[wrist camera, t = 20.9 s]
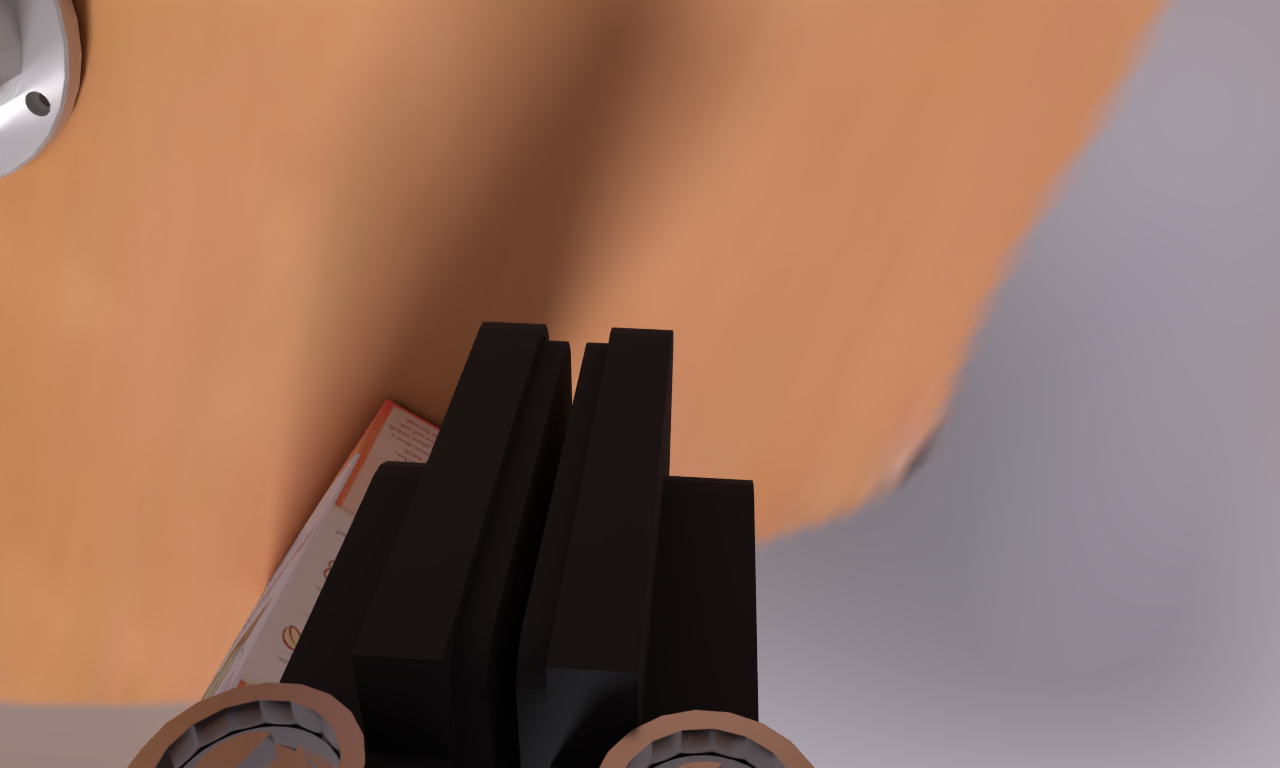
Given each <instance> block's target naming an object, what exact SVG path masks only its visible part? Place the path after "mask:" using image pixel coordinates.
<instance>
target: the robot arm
mask: <svg viewBox="0 0 1280 768" xmlns="http://www.w3.org/2000/svg"><path fill="white" fill-rule="evenodd" d="M81 59H82V52H81V44H80V36H79V28H78V19H77V16H76V13H75V9H74V6H73V3H72V0H0V178H2V177H4V176H7V175H9V174H12V173H14V172H16V171H17V170H19V169H20V168H22V167H23V166H25V165H26V164H28V163H29V162H31V161H32V160H34V159H35V158H37V157H38V156H39V155H40V154H41V153H42V152H43V151H44V150H45V149H46V148H47V147H49V146H50V145H51V144H52V143H53V142H54V141H55V140H56V139H57V137H58V136H59V134H60V132H61V131H62V129H63V127H64V126H65V124H66V122H67V121H68V119H69V117H70V116H71V113H72V110H73V106H74V103H75V100H76V97H77V93H78V90H79V86H80V73H81ZM672 371H673V330H656V329H634V328H612V329H611V333H610V337H609V343H587V344H586V347H585V352H584V356H583V361H582V365H581V369H580V374H579V378H578V383H577V387H576V392H575V396H574V400H573V405H572V380H571V351H570V344H569V342H567V341H549V334H548V329H547V326H546V324H526V323H504V322H483V323H482V325H481V327H480V329H479V332H478V334H477V337H476V339H475V342H474V344H473V347H472V349H471V352H470V354H469V357H468V359H467V362H466V365H465V367H464V370H463V372H462V375H461V377H460V380H459V382H458V385H457V387H456V390H455V392H454V395H453V397H452V400H451V402H450V405H449V408H448V410H447V413H446V415H445V418H444V420H443V423H442V425H441V428H440V430H439V433H438V435H437V438H436V440H435V443H434V445H433V448H432V451H431V453H430V456H429V458H428V461H427V463H419V462H401V461H386V462H384V463H382V464H380V466H379V467H378V469H377V470H376V472H375V474H374V475H373V477H372V480H371V482H370V484H369V486H368V488H367V491H366V493H365V495H364V497H363V499H362V502H361V504H360V506H359V508H358V510H357V513H356V515H355V517H354V519H353V521H352V523H351V526H350V528H349V530H348V532H347V534H346V537H345V539H344V541H343V543H342V545H341V548H340V550H339V552H338V554H337V556H336V559H335V561H334V563H333V565H332V567H331V570H330V572H329V574H328V576H327V578H326V581H325V583H324V585H323V587H322V589H321V592H320V594H319V596H318V598H317V600H316V603H315V605H314V607H313V609H312V611H311V614H310V616H309V618H308V620H307V622H306V624H305V627H304V629H303V631H302V633H301V635H300V638H299V640H298V642H297V644H296V646H295V649H294V651H293V653H292V655H291V657H290V660H289V662H288V664H287V666H286V668H285V671H284V673H283V675H282V677H281V679H280V682H279V683H273V682H266V683H261V684H255V685H249V686H243V687H238V688H232V689H230V690H227V691H225V692H222V693H220V694H217V695H215V696H212V697H210V698H207V699H205V700H202V701H200V702H197V703H196V704H194V705H193V706H191V707H190V708H188V709H187V710H185V711H184V712H182V713H181V714H179V715H178V716H176V717H175V718H173V719H172V720H170V721H169V722H167V723H166V724H165V725H164V726H163V727H162V728H161V729H160V730H159V731H158V732H157V733H156V734H155V735H154V736H153V737H152V738H151V739H150V740H149V742H148V743H147V744H146V745H145V746H144V747H143V748H142V749H141V750H140V751H139V753H138V754H137V755H136V757H135V758H134V759H133V761H132V762H131V763H130V765H129V766H128V767H127V768H814V767H813V765H811V763H810V762H809V761H808V760H807V759H806V758H805V756H804V755H803V754H802V753H801V752H800V751H799V750H798V749H797V747H796V746H795V745H794V744H793V743H792V742H791V741H789V740H788V739H786V738H785V737H783V736H782V735H780V734H779V733H777V732H775V731H774V730H772V729H771V728H769V727H767V726H766V725H764V724H763V723H760V722H758V673H757V624H756V623H757V622H756V576H755V575H756V573H755V521H754V485H753V480H736V479H717V478H699V477H680V476H669V467H670V435H671V403H672Z"/></svg>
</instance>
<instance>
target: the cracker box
mask: <svg viewBox="0 0 1280 768" xmlns="http://www.w3.org/2000/svg"><path fill="white" fill-rule="evenodd" d="M439 430H440V428H438V427H436V426H435V425H433V424H431V423H429V422H428V421H426V420H424V419H422V418H420V417H419V416H417V415H415V414H413V413H412V412H410V411H408V410H406V409H404V408H403V407H401V406H399V405H397V404H396V403H394V402H393V401H391V400H386V401H385V402H384V403H383V405H382V406H381V408H380V409H379V411H378V413H377V414H376V416H375V418H374V419H373V421H372V422H371V424H370V425H369V427H368V429H367V430H366V432H365V433H364V435H363V436H362V438H361V439H360V441H359V442H358V444H357V445H356V447H355V448H354V450H353V451H352V453H351V454H350V456H349V457H348V459H347V460H346V462H345V463H344V465H343V466H342V468H341V469H340V471H339V472H338V474H337V475H336V477H335V479H334V480H333V482H332V483H331V485H330V486H329V488H328V490H327V491H326V493H325V494H324V496H323V497H322V499H321V501H320V502H319V504H318V505H317V507H316V509H315V510H314V512H313V513H312V515H311V516H310V518H309V520H308V521H307V523H306V524H305V526H304V527H303V529H302V531H301V532H300V534H299V535H298V537H297V539H296V540H295V542H294V543H293V545H292V546H291V548H290V550H289V551H288V553H287V554H286V556H285V557H284V559H283V561H282V562H281V564H280V565H279V567H278V569H277V570H276V572H275V573H274V575H273V577H272V578H271V580H270V582H269V583H268V585H267V587H266V588H265V590H264V592H263V594H262V595H261V597H260V599H259V600H258V602H257V604H256V606H255V607H254V609H253V611H252V612H251V614H250V616H249V618H248V619H247V621H246V623H245V624H244V626H243V628H242V630H241V631H240V633H239V635H238V636H237V638H236V640H235V642H234V643H233V645H232V647H231V648H230V650H229V652H228V654H227V655H226V657H225V659H224V661H223V662H222V664H221V666H220V667H219V669H218V671H217V673H216V674H215V676H214V678H213V680H212V682H211V683H210V685H209V687H208V688H207V690H206V692H205V694H204V695H203V697H202V699H201V701H202V700H205V699H207V698H210V697H212V696H215V695H217V694H220V693H222V692H225V691H227V690H230V689H232V688H238V687H243V686H249V685H255V684H261V683H266V682H273V683H279V682H280V679H281V677H282V675H283V673H284V671H285V668H286V666H287V664H288V662H289V660H290V657H291V655H292V653H293V651H294V649H295V646H296V644H297V642H298V640H299V638H300V635H301V633H302V631H303V629H304V627H305V624H306V622H307V620H308V618H309V616H310V614H311V611H312V609H313V607H314V605H315V603H316V600H317V598H318V596H319V594H320V592H321V589H322V587H323V585H324V583H325V581H326V578H327V576H328V574H329V572H330V570H331V567H332V565H333V563H334V561H335V559H336V556H337V554H338V552H339V550H340V548H341V545H342V543H343V541H344V539H345V537H346V534H347V532H348V530H349V528H350V526H351V523H352V521H353V519H354V517H355V515H356V513H357V510H358V508H359V506H360V504H361V502H362V499H363V497H364V495H365V493H366V491H367V488H368V486H369V484H370V482H371V480H372V477H373V475H374V474H375V472H376V470H377V469H378V467H379V466H380V464H382V463H384V462H386V461H401V462H419V463H427V461H428V458H429V456H430V453H431V451H432V448H433V445H434V443H435V440H436V438H437V435H438V433H439Z"/></svg>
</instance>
